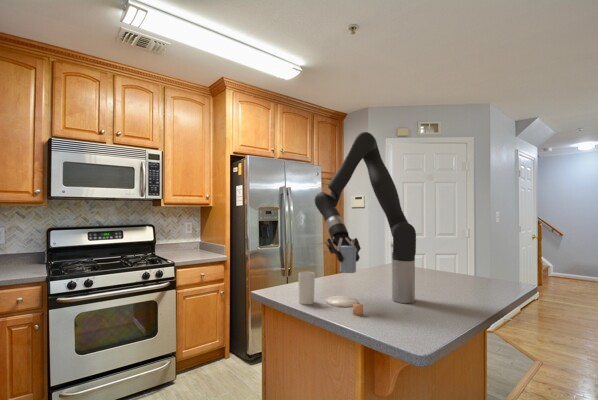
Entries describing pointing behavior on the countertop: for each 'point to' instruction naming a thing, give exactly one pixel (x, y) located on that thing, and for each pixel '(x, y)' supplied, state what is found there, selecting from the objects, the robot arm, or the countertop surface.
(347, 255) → the tumbler
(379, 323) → the countertop surface
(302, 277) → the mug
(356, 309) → the light brown cube
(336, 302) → the dish
